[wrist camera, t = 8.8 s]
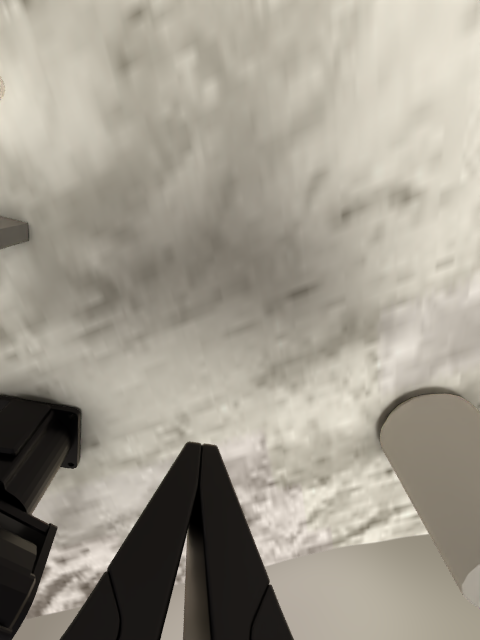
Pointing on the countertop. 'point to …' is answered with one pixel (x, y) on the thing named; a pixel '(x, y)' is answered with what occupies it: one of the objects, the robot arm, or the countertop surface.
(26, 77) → the countertop surface
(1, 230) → the box
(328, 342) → the countertop surface
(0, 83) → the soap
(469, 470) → the can
